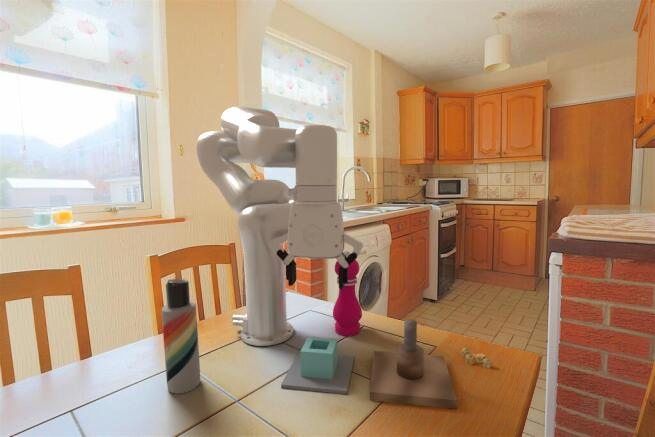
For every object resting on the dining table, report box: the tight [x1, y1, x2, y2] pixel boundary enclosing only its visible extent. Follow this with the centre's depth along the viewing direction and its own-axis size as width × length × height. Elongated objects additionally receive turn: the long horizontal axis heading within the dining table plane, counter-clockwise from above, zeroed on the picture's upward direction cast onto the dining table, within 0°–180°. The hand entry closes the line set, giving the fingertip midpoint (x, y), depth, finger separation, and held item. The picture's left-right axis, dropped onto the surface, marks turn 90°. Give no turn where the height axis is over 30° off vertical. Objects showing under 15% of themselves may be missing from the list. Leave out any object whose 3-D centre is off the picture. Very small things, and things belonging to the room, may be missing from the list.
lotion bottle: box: [161, 278, 201, 395], centre depth 62 cm, size 6×6×20 cm
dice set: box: [461, 347, 493, 369], centre depth 70 cm, size 5×5×2 cm
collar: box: [300, 336, 339, 380], centre depth 66 cm, size 6×6×5 cm
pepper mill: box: [332, 250, 363, 337], centre depth 83 cm, size 7×7×20 cm
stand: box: [369, 318, 458, 410], centre depth 63 cm, size 14×14×11 cm
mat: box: [280, 351, 355, 395], centre depth 66 cm, size 12×12×1 cm
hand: (316, 285), depth 65 cm, fingers open, 9 cm apart
